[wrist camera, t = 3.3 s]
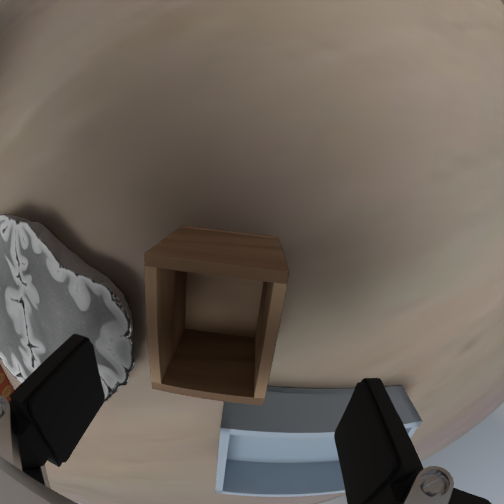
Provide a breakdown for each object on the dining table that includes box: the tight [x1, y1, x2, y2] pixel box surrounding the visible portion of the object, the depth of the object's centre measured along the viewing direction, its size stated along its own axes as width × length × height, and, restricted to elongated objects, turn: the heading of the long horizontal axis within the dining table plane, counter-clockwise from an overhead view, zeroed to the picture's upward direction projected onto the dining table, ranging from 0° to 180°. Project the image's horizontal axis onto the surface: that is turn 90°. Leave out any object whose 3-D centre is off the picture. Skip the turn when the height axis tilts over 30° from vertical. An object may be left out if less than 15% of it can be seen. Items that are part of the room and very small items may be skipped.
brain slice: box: [0, 214, 135, 402], centre depth 17 cm, size 20×17×3 cm
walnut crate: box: [145, 226, 289, 405], centre depth 14 cm, size 7×6×6 cm
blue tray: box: [215, 385, 422, 497], centre depth 18 cm, size 11×14×4 cm
